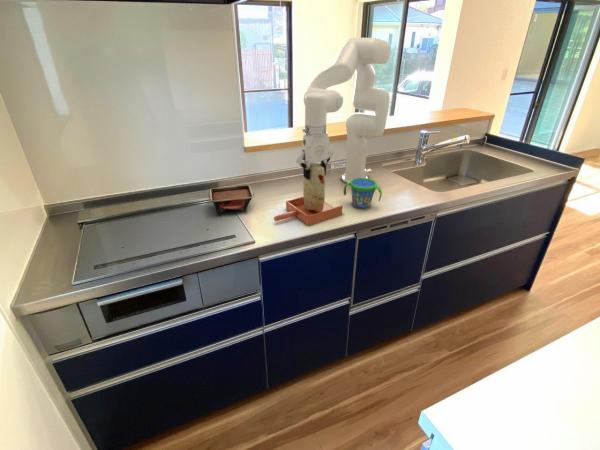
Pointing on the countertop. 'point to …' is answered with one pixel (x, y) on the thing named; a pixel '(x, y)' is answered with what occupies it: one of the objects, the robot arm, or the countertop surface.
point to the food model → (314, 189)
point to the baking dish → (231, 197)
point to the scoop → (308, 212)
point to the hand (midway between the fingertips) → (314, 176)
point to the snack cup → (362, 191)
